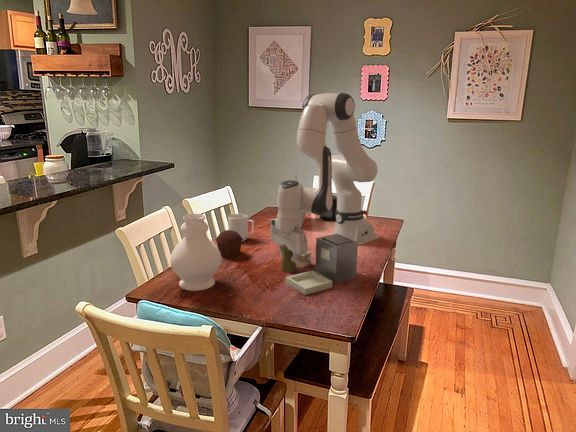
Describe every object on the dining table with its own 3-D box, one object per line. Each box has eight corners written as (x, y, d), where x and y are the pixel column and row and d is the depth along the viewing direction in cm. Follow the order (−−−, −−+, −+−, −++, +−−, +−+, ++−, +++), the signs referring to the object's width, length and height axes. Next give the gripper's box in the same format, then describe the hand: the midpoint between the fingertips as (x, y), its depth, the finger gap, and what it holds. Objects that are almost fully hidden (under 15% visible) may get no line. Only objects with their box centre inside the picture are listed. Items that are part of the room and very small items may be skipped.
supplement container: (340, 216, 259) (341, 195, 256) (337, 222, 249) (338, 199, 246) (321, 215, 262) (321, 194, 258) (317, 220, 252) (318, 198, 248)
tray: (312, 276, 180) (312, 270, 179) (332, 287, 170) (332, 281, 169) (285, 283, 173) (285, 277, 172) (305, 295, 163) (305, 288, 163)
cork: (280, 267, 188) (280, 240, 185) (295, 266, 188) (295, 240, 186) (281, 273, 182) (281, 245, 179) (297, 272, 183) (297, 245, 180)
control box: (335, 267, 188) (336, 232, 184) (356, 277, 179) (358, 241, 175) (314, 272, 183) (315, 237, 179) (334, 283, 173) (336, 246, 169)
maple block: (301, 261, 195) (301, 249, 193) (310, 264, 192) (311, 252, 190) (293, 264, 191) (293, 252, 190) (303, 267, 188) (303, 255, 187)
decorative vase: (165, 279, 175) (161, 213, 168) (211, 270, 184) (209, 207, 177) (180, 298, 160) (176, 226, 154) (229, 287, 169) (228, 219, 162)
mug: (225, 241, 218) (224, 217, 215) (233, 235, 226) (233, 212, 223) (249, 244, 214) (249, 220, 211) (257, 238, 222) (257, 215, 219)
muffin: (246, 257, 198) (246, 234, 196) (220, 260, 194) (219, 237, 192) (238, 248, 209) (237, 226, 206) (213, 251, 205) (212, 228, 202)
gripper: (312, 229, 174) (311, 265, 178) (281, 216, 190) (281, 249, 194) (298, 232, 170) (297, 268, 174) (267, 219, 187) (267, 252, 190)
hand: (288, 258), depth 184 cm, fingers open, 6 cm apart
